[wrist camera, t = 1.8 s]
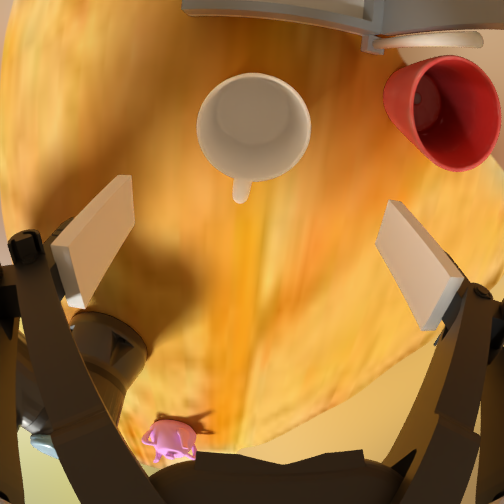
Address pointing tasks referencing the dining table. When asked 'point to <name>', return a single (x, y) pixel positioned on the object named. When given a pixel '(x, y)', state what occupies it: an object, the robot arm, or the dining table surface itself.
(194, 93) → the dining table surface
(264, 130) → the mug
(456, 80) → the flower pot
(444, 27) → the case
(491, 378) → the robot arm
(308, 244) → the dining table surface
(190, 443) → the pink toy pig
